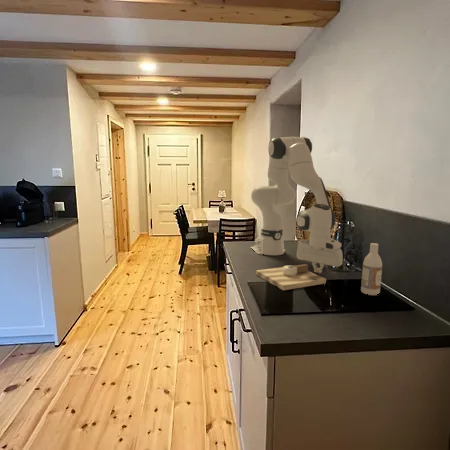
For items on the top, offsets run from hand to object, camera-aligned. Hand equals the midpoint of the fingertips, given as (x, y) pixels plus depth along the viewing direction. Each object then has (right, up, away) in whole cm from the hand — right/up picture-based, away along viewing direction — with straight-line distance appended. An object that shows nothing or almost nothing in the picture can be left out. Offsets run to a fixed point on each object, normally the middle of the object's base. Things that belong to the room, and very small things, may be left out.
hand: (317, 272), depth 145 cm
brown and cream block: (-9, -1, +3) cm, 10 cm away
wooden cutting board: (-12, -3, +2) cm, 13 cm away
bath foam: (+17, -6, -14) cm, 23 cm away
